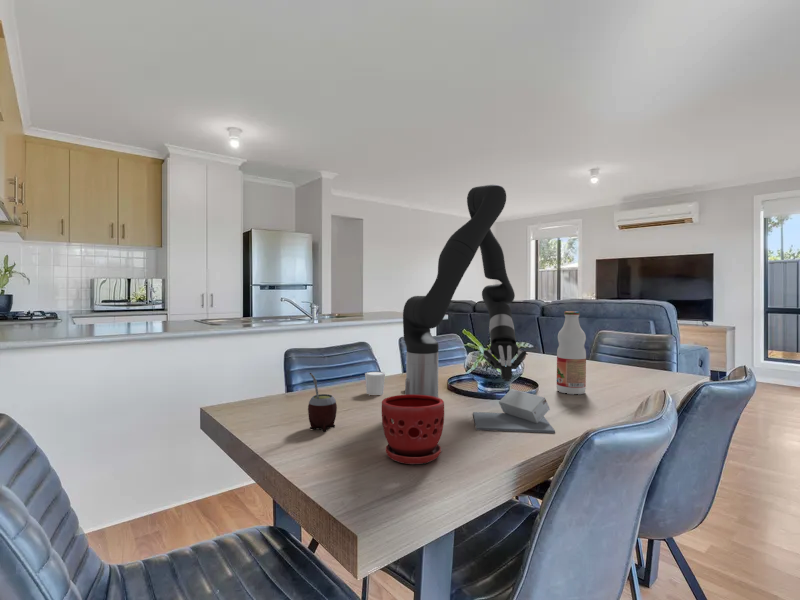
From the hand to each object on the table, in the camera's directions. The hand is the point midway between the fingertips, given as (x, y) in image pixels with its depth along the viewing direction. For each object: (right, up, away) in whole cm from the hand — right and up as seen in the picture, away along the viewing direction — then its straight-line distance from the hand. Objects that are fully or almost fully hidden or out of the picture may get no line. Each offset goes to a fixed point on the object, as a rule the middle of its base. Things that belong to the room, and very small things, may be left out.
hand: (507, 379), depth 120 cm
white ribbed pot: (-39, -9, +24) cm, 46 cm away
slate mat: (-1, -10, -8) cm, 13 cm away
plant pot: (-28, -11, -31) cm, 43 cm away
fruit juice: (+29, -10, +28) cm, 42 cm away
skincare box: (0, -6, +1) cm, 6 cm away
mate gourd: (-50, -10, -13) cm, 52 cm away
